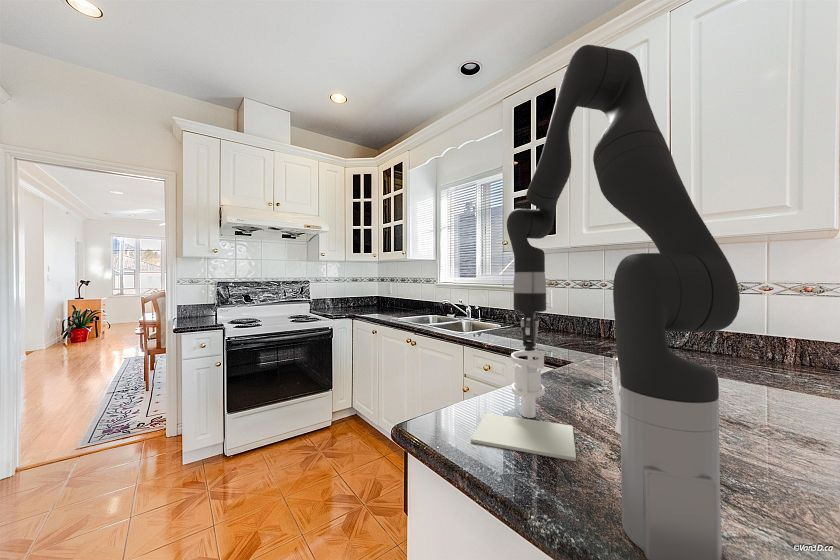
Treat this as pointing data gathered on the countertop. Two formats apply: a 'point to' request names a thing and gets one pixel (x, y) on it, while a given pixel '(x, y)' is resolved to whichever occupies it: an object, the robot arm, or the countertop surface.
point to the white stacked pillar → (528, 380)
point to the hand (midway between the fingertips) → (530, 363)
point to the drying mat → (526, 436)
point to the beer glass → (617, 392)
